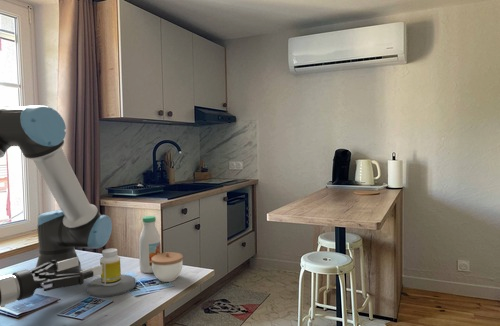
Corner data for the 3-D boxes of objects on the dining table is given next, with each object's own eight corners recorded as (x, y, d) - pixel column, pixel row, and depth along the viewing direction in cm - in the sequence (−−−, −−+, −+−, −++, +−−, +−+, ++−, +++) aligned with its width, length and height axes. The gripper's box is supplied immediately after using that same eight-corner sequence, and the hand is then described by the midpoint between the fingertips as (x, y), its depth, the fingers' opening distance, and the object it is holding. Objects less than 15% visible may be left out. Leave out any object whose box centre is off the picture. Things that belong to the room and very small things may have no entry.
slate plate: (78, 289, 122) (77, 284, 122) (118, 275, 134) (118, 271, 134) (103, 301, 113) (103, 296, 113) (144, 285, 125) (144, 280, 125)
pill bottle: (124, 280, 125) (123, 248, 125) (113, 287, 119) (112, 253, 119) (108, 278, 127) (107, 246, 126) (96, 285, 121) (95, 252, 120)
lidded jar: (176, 285, 124) (175, 257, 124) (146, 283, 126) (145, 256, 126) (187, 274, 135) (187, 248, 134) (160, 272, 137) (159, 247, 136)
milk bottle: (141, 274, 134) (139, 220, 133) (138, 268, 141) (136, 216, 140) (163, 271, 137) (161, 217, 136) (159, 265, 144) (157, 214, 143)
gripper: (-4, 290, 107) (69, 269, 124) (36, 313, 92) (112, 286, 109) (-5, 264, 107) (68, 246, 124) (34, 283, 92) (111, 260, 109)
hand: (89, 265), depth 117 cm, fingers open, 13 cm apart
